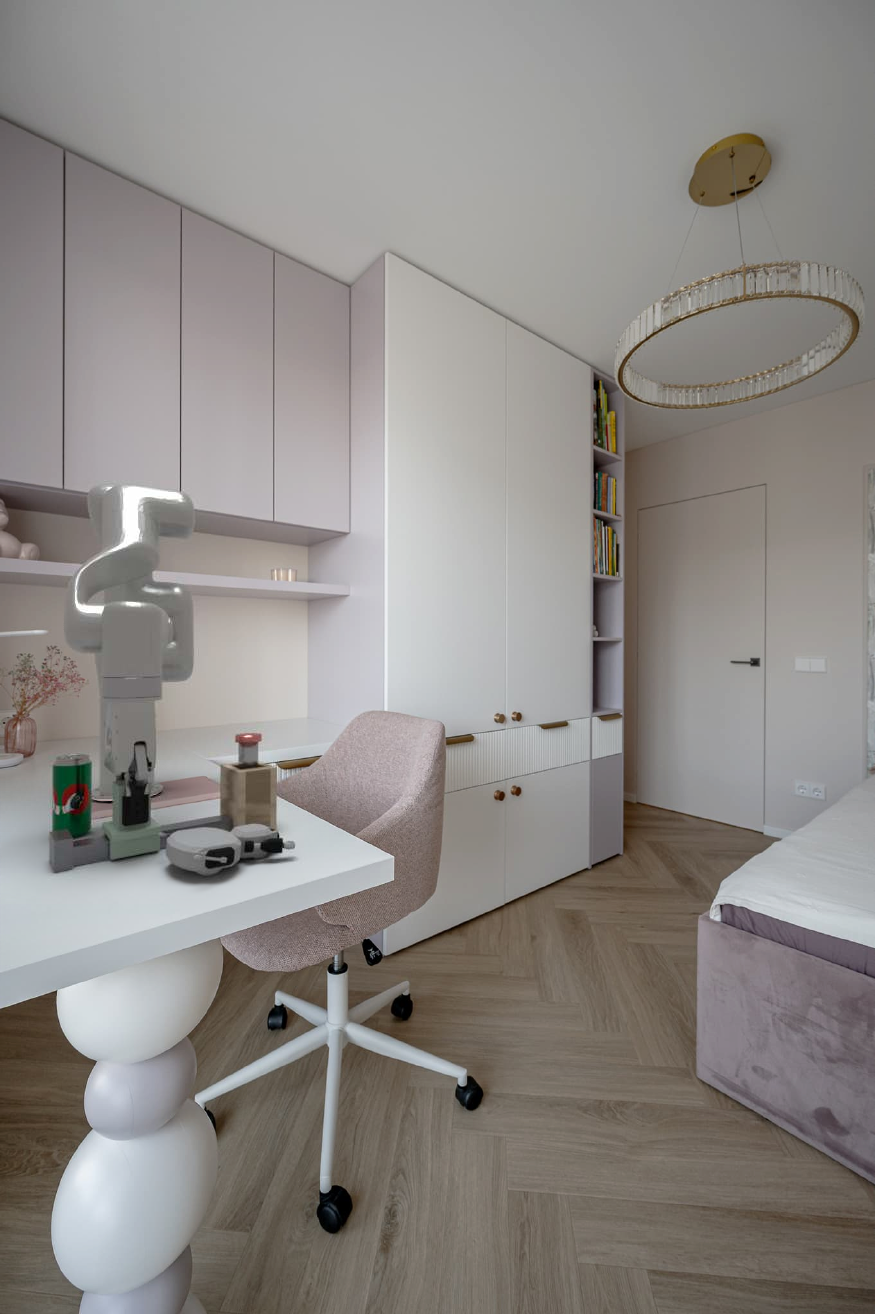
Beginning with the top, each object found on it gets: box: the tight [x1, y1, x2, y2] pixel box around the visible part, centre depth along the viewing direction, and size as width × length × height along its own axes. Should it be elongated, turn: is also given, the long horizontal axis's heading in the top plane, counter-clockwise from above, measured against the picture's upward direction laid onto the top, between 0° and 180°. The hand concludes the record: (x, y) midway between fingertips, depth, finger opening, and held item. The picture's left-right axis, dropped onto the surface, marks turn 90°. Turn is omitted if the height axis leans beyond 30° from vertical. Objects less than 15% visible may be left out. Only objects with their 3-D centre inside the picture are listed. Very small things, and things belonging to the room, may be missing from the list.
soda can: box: [51, 753, 93, 839], centre depth 86 cm, size 5×5×12 cm
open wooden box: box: [219, 760, 278, 830], centre depth 90 cm, size 8×6×10 cm
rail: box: [48, 814, 233, 874], centre depth 81 cm, size 5×24×4 cm, turn 130°
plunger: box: [234, 732, 263, 770], centre depth 90 cm, size 4×4×6 cm
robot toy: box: [158, 824, 296, 877], centre depth 75 cm, size 12×4×15 cm
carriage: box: [101, 779, 162, 861], centre depth 79 cm, size 7×6×10 cm
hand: (131, 818), depth 79 cm, fingers closed on carriage, 4 cm apart
